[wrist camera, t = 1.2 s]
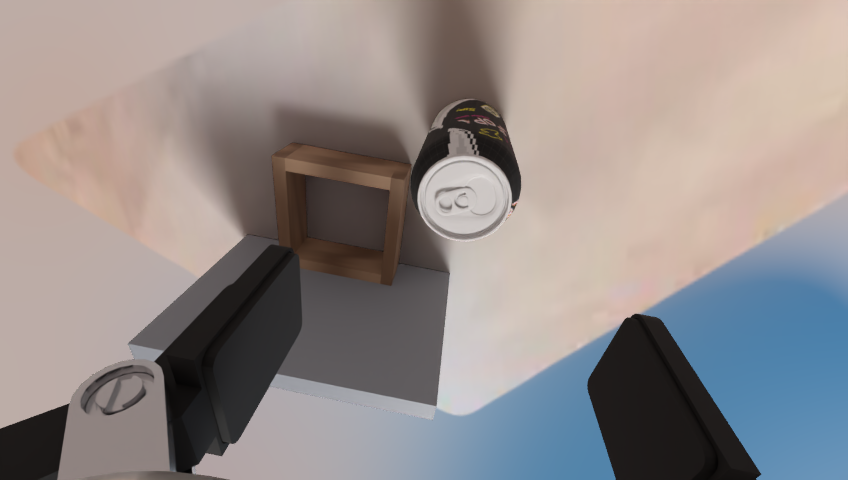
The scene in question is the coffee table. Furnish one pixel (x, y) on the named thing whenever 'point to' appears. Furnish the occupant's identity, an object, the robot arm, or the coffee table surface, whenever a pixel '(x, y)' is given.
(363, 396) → the wall board
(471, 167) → the beverage can
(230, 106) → the coffee table surface
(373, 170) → the brown wooden open box
